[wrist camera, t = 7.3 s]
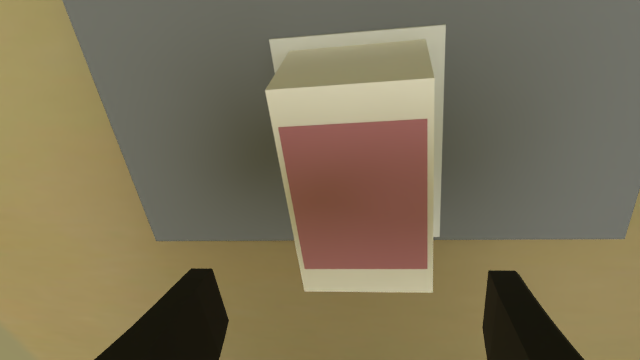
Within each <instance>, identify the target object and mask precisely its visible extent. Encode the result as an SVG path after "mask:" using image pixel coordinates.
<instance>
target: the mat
mask: <svg viewBox="0 0 640 360" xmlns="http://www.w3.org/2000/svg"><path fill="white" fill-rule="evenodd" d="M63 3H64V6H65V8H66V11H67V13H68V16H69V18H70V21H71V23H72V26H73V29H74V31H75V34H76V36H77V39H78V41H79V44H80V47H81V49H82V52H83V54H84V57H85V59H86V62H87V65H88V67H89V70H90V72H91V75H92V77H93V80H94V83H95V85H96V88H97V90H98V93H99V95H100V98H101V100H102V103H103V106H104V108H105V111H106V113H107V116H108V118H109V121H110V124H111V126H112V129H113V131H114V134H115V136H116V139H117V142H118V144H119V147H120V149H121V152H122V154H123V157H124V159H125V162H126V165H127V167H128V170H129V172H130V175H131V177H132V180H133V183H134V185H135V188H136V190H137V193H138V195H139V198H140V201H141V203H142V206H143V208H144V211H145V213H146V216H147V219H148V221H149V224H150V226H151V229H152V231H153V234H154V236H155V239H156V241H273V240H294V236H293V231H292V225H291V220H290V215H289V210H288V205H287V200H286V195H285V190H284V185H283V180H282V175H281V169H280V164H279V159H278V154H277V149H276V144H275V139H274V134H273V129H272V124H271V118H270V113H269V108H268V103H267V98H266V93H265V89H266V88H267V86H268V85H269V83H270V81H271V80H272V78H273V77H274V75H275V73H276V72H277V70H278V69H279V67H280V65H281V64H282V62H283V61H284V59H285V57H286V56H287V54H288V53H289V51H295V50H306V49H318V48H329V47H341V46H352V45H364V44H375V43H387V42H398V41H410V40H421V39H426V43H427V47H428V51H429V56H430V60H431V65H432V69H433V73H434V78H435V86H434V206H433V240H504V239H625V236H626V232H627V229H628V226H629V222H630V219H631V216H632V212H633V209H634V206H635V203H636V199H637V196H638V193H639V189H640V0H63Z"/></svg>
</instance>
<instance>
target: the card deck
mask: <svg viewBox="0 0 640 360" xmlns="http://www.w3.org/2000/svg"><path fill="white" fill-rule="evenodd" d="M434 86H435V78H434V73H433V69H432V65H431V60H430V56H429V51H428V47H427V43H426V39H421V40H410V41H398V42H387V43H375V44H364V45H352V46H341V47H329V48H318V49H306V50H295V51H289V53H288V54H287V56H286V57H285V59H284V61H283V62H282V64H281V65H280V67H279V69H278V70H277V72H276V73H275V75H274V77H273V78H272V80H271V81H270V83H269V85H268V86H267V88H266V89H265V93H266V98H267V103H268V108H269V113H270V118H271V124H272V129H273V134H274V139H275V144H276V149H277V154H278V159H279V164H280V169H281V175H282V180H283V185H284V190H285V195H286V200H287V205H288V210H289V215H290V220H291V225H292V231H293V236H294V241H295V246H296V251H297V256H298V261H299V266H300V271H301V276H302V282H303V287H304V291H315V292H427V293H433V206H434Z"/></svg>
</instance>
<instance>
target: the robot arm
mask: <svg viewBox="0 0 640 360" xmlns="http://www.w3.org/2000/svg"><path fill="white" fill-rule="evenodd" d="M228 321H229V320H228V317H227V314H226V310H225V307H224V304H223V301H222V298H221V295H220V292H219V288H218V285H217V282H216V279H215V276H214V273H213V270H212V269H191V270H189V271H188V272H187V273H186V274H185V275H184V276H183V277H182V278H181V279H180V280H179V281H178V282H177V283H176V284H175V285H174V286H173V287H172V288H171V289H170V290H169V291H168V292H167V293H166V294H165V295H164V296H163V297H162V298H161V299H160V300H159V301H158V302H157V303H156V304H155V305H154V306H153V307H152V308H151V309H150V310H148V311H147V312H146V313H145V314H144V315H143V316H142V317H141V318H140V319H139V320H138V321H137V322H136V323H135V324H134V325H133V326H132V327H131V328H130V329H128V330H127V331H126V332H125V333H124V334H123V335H122V336H121V337H119V338H118V339H117V340H116V341H115V342H114V343H113V344H112V345H110V346H109V347H108V348H107V349H106V350H105V351H104V352H103V353H101V354H100V355H99V356H98V357H97V358H96V359H94V360H219V357H220V354H221V350H222V346H223V342H224V338H225V334H226V330H227V326H228ZM483 334H484V341H485V348H486V354H487V360H584V359H583V358H582V356H581V355H580V354H579V353H578V352H577V351H576V349H575V348H574V347H573V346H572V345H571V343H570V342H569V341H568V340H567V338H566V337H565V336H564V335H563V334H562V332H561V331H560V330H559V329H558V327H557V326H556V325H555V324H554V322H553V321H552V320H551V319H550V317H549V316H548V315H547V313H546V312H545V311H544V309H543V308H542V307H541V305H540V304H539V303H538V301H537V300H536V298H535V297H534V296H533V294H532V293H531V291H530V290H529V289H528V287H527V286H526V284H525V283H524V281H523V280H522V278H521V277H520V275H519V274H518V273H517V272H516V271H489V272H488V281H487V290H486V300H485V309H484V319H483Z"/></svg>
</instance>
